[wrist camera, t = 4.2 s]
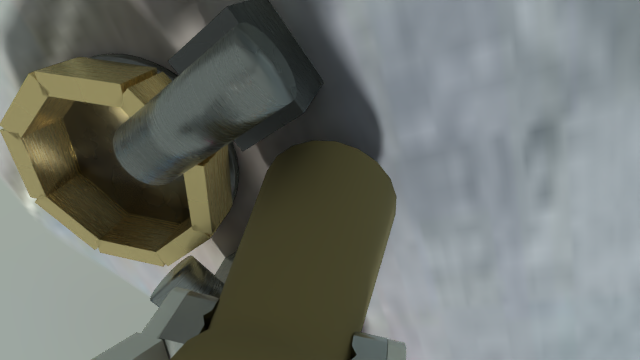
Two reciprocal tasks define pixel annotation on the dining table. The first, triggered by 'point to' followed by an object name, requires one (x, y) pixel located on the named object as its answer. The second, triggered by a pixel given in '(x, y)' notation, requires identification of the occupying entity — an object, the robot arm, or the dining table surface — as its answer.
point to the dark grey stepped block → (219, 94)
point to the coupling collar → (110, 161)
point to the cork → (303, 260)
